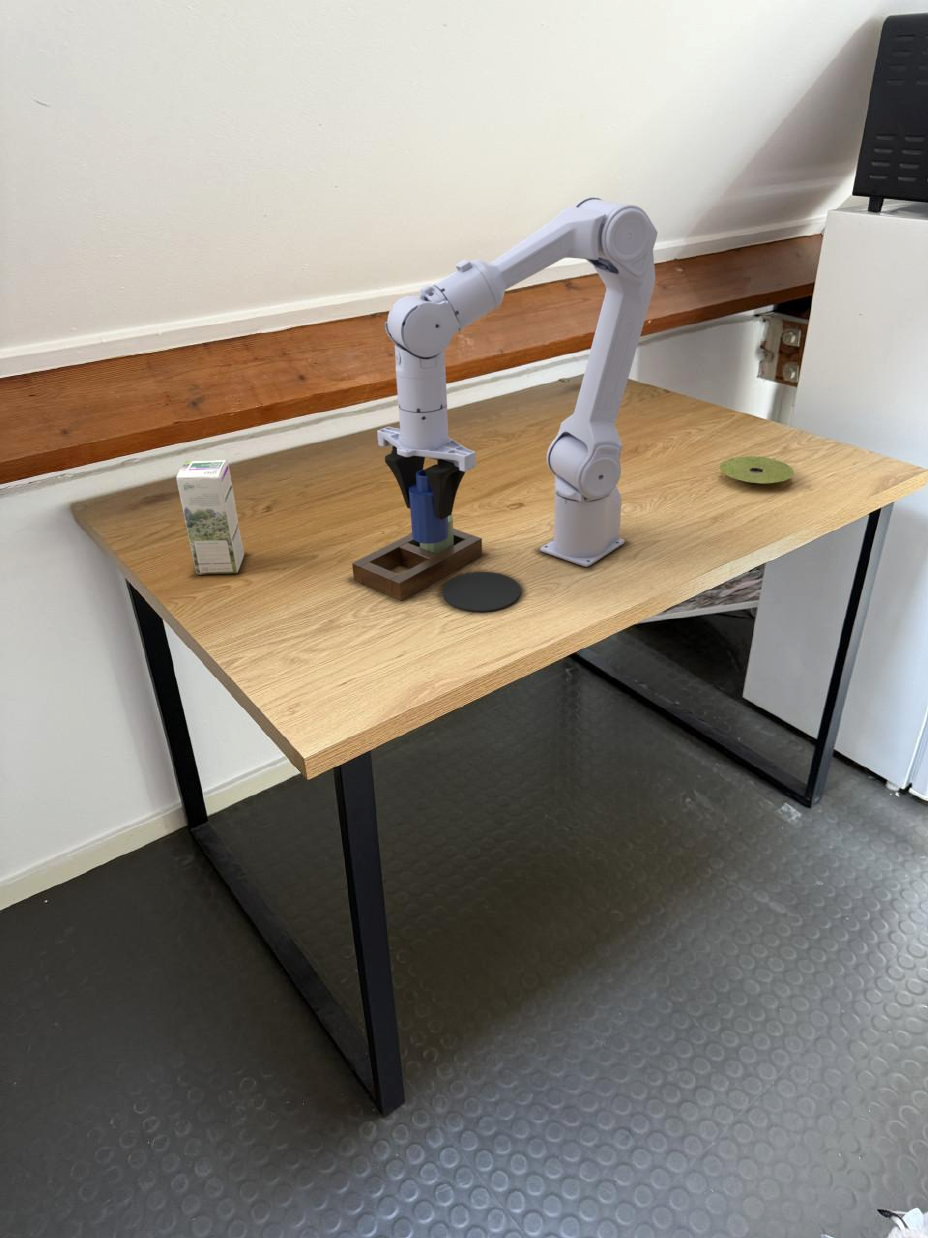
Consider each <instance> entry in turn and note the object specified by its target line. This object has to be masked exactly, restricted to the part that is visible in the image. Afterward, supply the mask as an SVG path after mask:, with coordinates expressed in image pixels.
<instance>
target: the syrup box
mask: <svg viewBox="0 0 928 1238" xmlns="http://www.w3.org/2000/svg"><path fill="white" fill-rule="evenodd" d="M175 478H176V484H177V488H178V493H179V498H180V503H181V507H182V512H183V517H184V522H185V527H186V531H187V536H188V540H189V545H190V550H191V554H192V559H193V564H194V569H195V573H196V575H197V576H198V575H199V576H201V575H203V576H204V575H224V574H225V575H226V574H228V575H229V574H238V573H239V570H240V568H241V566H242V562H243V560H244V557H245V550H244V546H243V545H244V544H243V542H242V535H241V531H240V525H239V519H238V513H237V508H236V502H235V501H236V500H235V494H234V488H233V482H232V476H231V470H230V465H229V461H228V460H227V459H215V460H191V461H190V460H189V461H185V462H184V463H183V464H182V466H181V467H180V469H179V471H178V472H177V474H176V476H175Z"/></svg>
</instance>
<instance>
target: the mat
mask: <svg viewBox="0 0 928 1238" xmlns="http://www.w3.org/2000/svg"><path fill="white" fill-rule="evenodd" d="M719 470H720V471H721V473H723V474H724V475H726V476H727V477H729V478H731V479H734V480H738V481H742V482H747V483H753V484H774V483H780V482H784V481H787V480H789V479H791V478H792V477H793V476H794V473H795V471H794V469H793V467H791V466H790V465H789V464H787V463H786V462H784V461H781V460H777V459H775V458H770V457H765V456H754V455H749V456H748V455H747V456H736V457H731V458H728V459H725V460H724V461H722V462H721V463H720V465H719Z"/></svg>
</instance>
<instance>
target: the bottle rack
mask: <svg viewBox="0 0 928 1238" xmlns="http://www.w3.org/2000/svg"><path fill="white" fill-rule="evenodd" d="M453 539H454V546H452V547H450V548H449V549H447V550H445V551H443V552H441V553H439V554H435V553H433V552H430V551H428V550H425V549H422V548H420V543H419V542H417V541H415V540H414V539H413V537H412V532H411V533H409V534H406V535H405V536H403V537H401V538H399V539H397V540H395V541H393V542H391V543H389V544H387V545H385V546H384V547H381V548H379V549H377V550H375V551H373V552H370V553H369V554H367V555H366V556H365V555H364V556H363V557H361V558H360V559H357V560H355V561H353V562H352V563H351V565H352V575H353V581H355V582H357V583H359V584H361V585H364V586H366V587H368V588H371V589H372V590H376V591H378V592H380V593H382V594H384V595H387V596H389V597H392V598H393V599H396V600H398V601H404V600H405V599H407V598H409V597H410V596H413V595H414V594H416V593H418V592H419V591H421V590H423V589H425V588H427V587H428V586H430V585H432V584H434V583H436V582H437V581H439V580H441V579H443V578H444V577H447V576H448V575H450V574H451V573H453V572H455V571H457V570H458V569H460V568H462V567H464V566H466V565H467V564H469V563H471V562H473V561H474V560H477V559H478V558H479V557H482V556H483V538H482V537H480V536H477V535H473V534H470V533H468V532H466V531H462V530H460V529H458V528H454V527H453ZM400 564H401V565H403V566H405V567H408V568H410V569H408V570H405V571H404V572H402V573H400V574H399V573H396V572H394V571H392V569H393V568H395V567H396V566H399V565H400Z"/></svg>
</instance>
